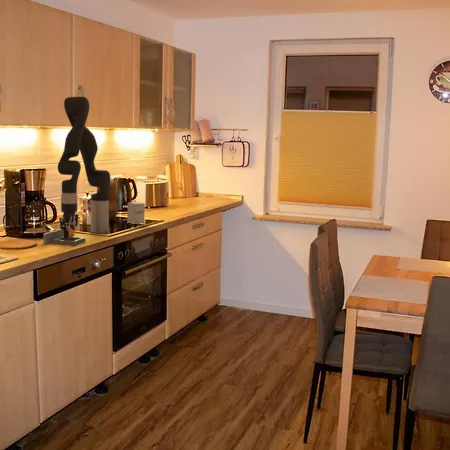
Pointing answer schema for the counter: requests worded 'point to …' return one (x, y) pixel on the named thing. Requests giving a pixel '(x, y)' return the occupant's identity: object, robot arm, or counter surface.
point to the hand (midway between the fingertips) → (69, 236)
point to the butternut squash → (112, 200)
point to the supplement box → (136, 212)
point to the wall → (52, 236)
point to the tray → (68, 241)
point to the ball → (71, 233)
